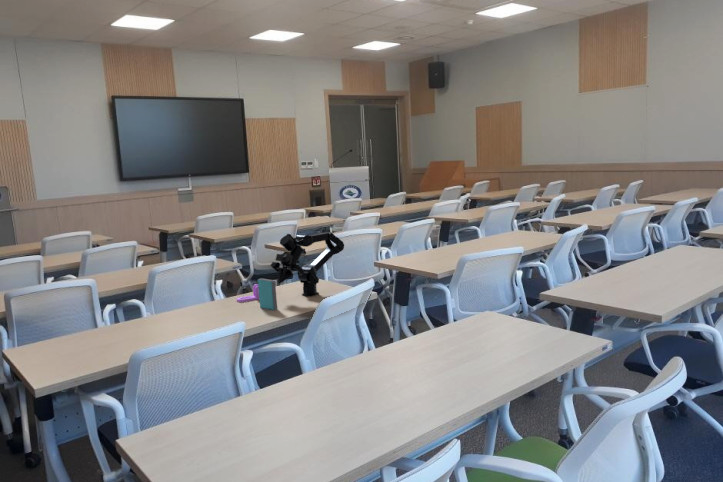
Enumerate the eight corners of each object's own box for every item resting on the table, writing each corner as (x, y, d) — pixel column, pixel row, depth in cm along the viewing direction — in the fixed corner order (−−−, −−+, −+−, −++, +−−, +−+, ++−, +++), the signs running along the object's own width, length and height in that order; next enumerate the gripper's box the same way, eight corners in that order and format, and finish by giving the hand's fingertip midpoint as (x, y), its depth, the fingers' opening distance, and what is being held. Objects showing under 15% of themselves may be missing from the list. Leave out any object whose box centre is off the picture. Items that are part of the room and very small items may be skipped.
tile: (263, 306, 274) (261, 278, 272) (277, 309, 268) (274, 280, 265) (259, 307, 272) (257, 279, 270) (273, 310, 266) (271, 281, 264)
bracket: (260, 296, 294) (259, 283, 293) (263, 298, 289) (262, 285, 288) (235, 300, 289) (234, 287, 288) (238, 303, 284) (236, 289, 283)
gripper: (271, 245, 281) (256, 272, 275) (297, 248, 269) (282, 275, 263) (284, 258, 288) (270, 284, 282) (310, 261, 276) (295, 288, 270)
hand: (279, 283), depth 274 cm, fingers closed
